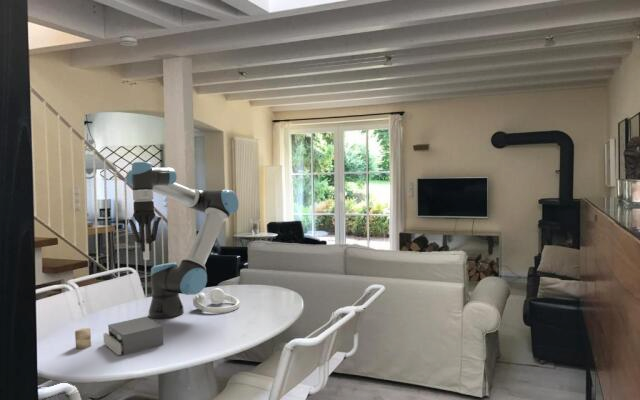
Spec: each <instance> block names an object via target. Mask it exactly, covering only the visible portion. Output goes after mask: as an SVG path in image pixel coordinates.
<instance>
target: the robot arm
mask: <svg viewBox="0 0 640 400" xmlns="http://www.w3.org/2000/svg"><path fill="white" fill-rule="evenodd" d="M152 164H153V163H152V162H150V161H136V162H133V163H132V164H131V169H130V170H129V171H127V173H126V175H125V176H126V178H125V180H126V183H127V184H128V185H129V186H131V187H132V200H133V214H132V217H130V218H128V219H127V223H128V224H129V226H130V229H131V233H132V236H133V239H134V241H135V243H136V244H137V243H138V244H139V246H140V252H142V256H143V260H144V261H148V260H150V252H151V251H152V243H153V242H155V241H157V235H158V230H159V225H160V222H161V220H162V218H161V217H160V216H158V215H156V213H155V206H154V205H155V204H154V201H153V200H154V193H156V194H159V195H161V196H164V197H167V198H169V199H172V200H174V201H177V202H180V203H183V204H184V205H185V207H188V208H190V209H192V210H195V211H197V212H200V213H204V214H206V216H205V218H204V219H203V222H202V224H201V226H200V228H199V231H198V232H197V235H196V237H195V239H194V241H193V243H192V245H191V248H190V250H189V253H188V254H187V257H185V258H184V259H182V260H181V261H180V263H179V266H178V262H168V263H163V264H162V263H161V264H157V265H153V266H152V267H151V268H150V286H151V301H150V302H151V303H150V306H149V309H148V318H149V319H151V318H152V319H161V320H162V319H169V318H175V317H178V316H181V315H182V314H184V311H185V309H184V306H183V302H182V300H181V298H180V295H181V294H182V295H187V296H190V295H198V294H199V293H202V291H203V290H204V288H206V285H207V283H208V275H207V274H208V273H207V268H206V263H207V261H208V258H209V257H210V254H211V251H212V248H213V247H214V244H215V242H216V240H217V237H218V235H219V233H220V231H221V228H222V226H223V224H224V222H226V221H228V219H229V218H230V215H234V214H236V213H237V211H238V209H239V198H238V195H237V194H236V193H235V191H233V190H231V189H217V190H216V189H211V190H209V189H208V190H202V189H197V188H194V187H193V188H189V187H187V186H184V185H182V184H179V183H177V182H176V181H177V172H176V171H175V169H174V168H172V167H167V166H165V167H163V166H162V167H161V166H159V167H153V165H152ZM136 222H137V224H138V230H137V225H136V224H135V223H136ZM152 222H153V224H152Z"/></svg>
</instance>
